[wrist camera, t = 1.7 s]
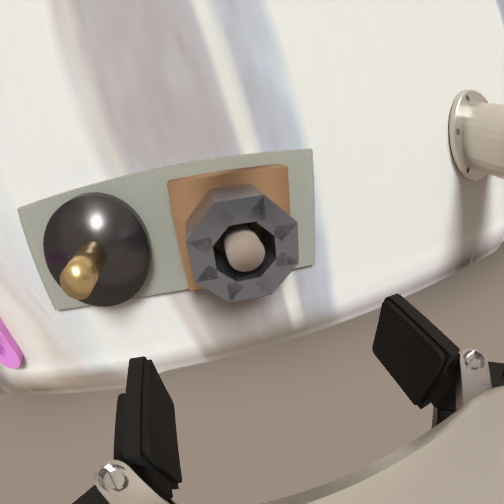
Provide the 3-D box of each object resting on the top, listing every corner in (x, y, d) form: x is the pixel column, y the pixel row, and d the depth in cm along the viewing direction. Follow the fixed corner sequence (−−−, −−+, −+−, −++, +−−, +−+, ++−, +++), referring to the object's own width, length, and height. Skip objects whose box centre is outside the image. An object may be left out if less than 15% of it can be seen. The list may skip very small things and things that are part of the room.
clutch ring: (277, 179, 21) (296, 190, 17) (282, 263, 24) (299, 288, 20) (181, 194, 19) (179, 208, 16) (197, 279, 23) (200, 308, 19)
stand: (279, 163, 22) (310, 176, 16) (285, 260, 26) (311, 297, 20) (168, 179, 21) (161, 197, 15) (188, 279, 25) (190, 322, 19)
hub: (137, 180, 20) (119, 197, 15) (163, 288, 24) (159, 330, 19) (37, 207, 19) (2, 231, 13) (72, 303, 23) (52, 343, 18)
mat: (309, 148, 23) (312, 149, 22) (312, 261, 27) (314, 264, 27) (20, 207, 18) (17, 209, 18) (57, 307, 23) (55, 310, 23)
